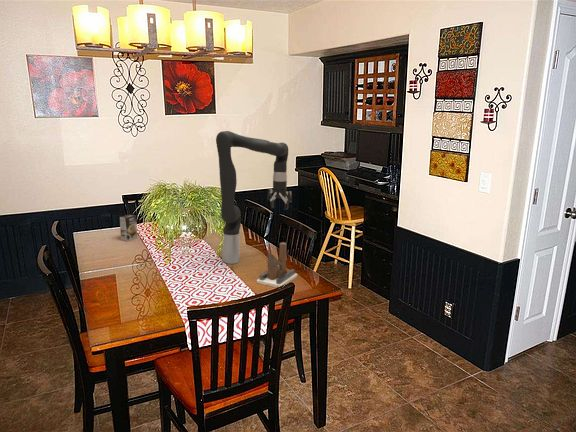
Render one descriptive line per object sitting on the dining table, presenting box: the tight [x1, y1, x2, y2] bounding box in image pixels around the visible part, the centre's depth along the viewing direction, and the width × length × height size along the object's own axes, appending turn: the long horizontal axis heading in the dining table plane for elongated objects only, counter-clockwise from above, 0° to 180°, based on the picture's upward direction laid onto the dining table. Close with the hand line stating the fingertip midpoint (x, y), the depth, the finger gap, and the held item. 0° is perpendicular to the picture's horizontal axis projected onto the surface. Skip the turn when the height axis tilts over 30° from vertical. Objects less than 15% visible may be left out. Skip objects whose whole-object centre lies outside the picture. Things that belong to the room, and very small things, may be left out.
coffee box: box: [119, 214, 138, 242], centre depth 294 cm, size 9×6×16 cm
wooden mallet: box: [267, 241, 288, 280], centre depth 229 cm, size 4×11×18 cm, turn 131°
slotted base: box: [256, 265, 298, 288], centre depth 231 cm, size 14×19×4 cm
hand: (279, 208), depth 242 cm, fingers open, 8 cm apart
